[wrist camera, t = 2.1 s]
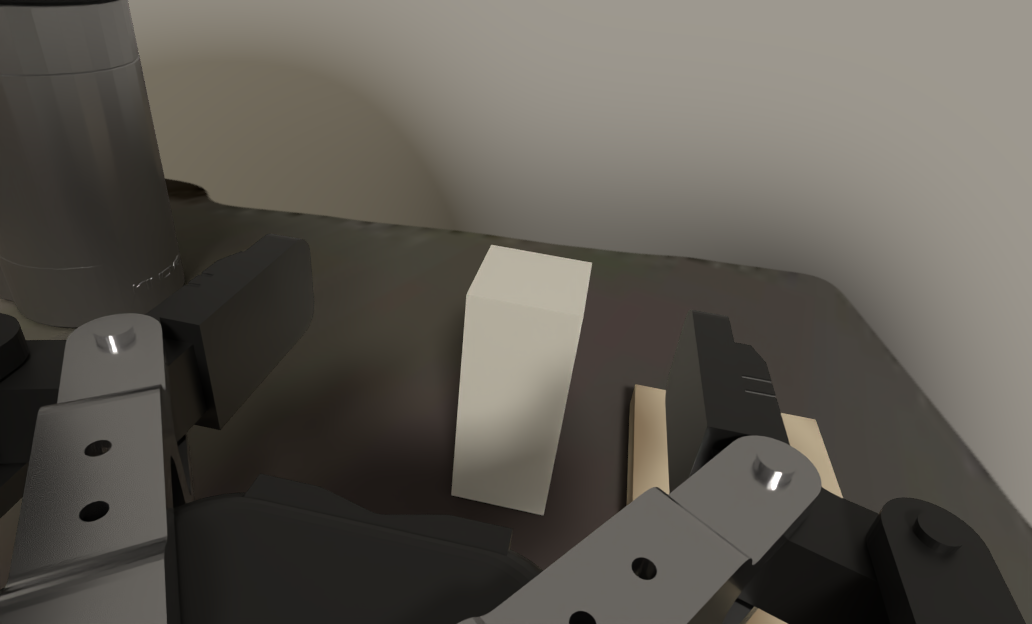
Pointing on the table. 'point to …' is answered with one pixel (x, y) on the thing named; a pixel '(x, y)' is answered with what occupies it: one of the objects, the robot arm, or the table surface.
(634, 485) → the pin dock
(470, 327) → the block
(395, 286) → the table surface
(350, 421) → the table surface
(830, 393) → the table surface
